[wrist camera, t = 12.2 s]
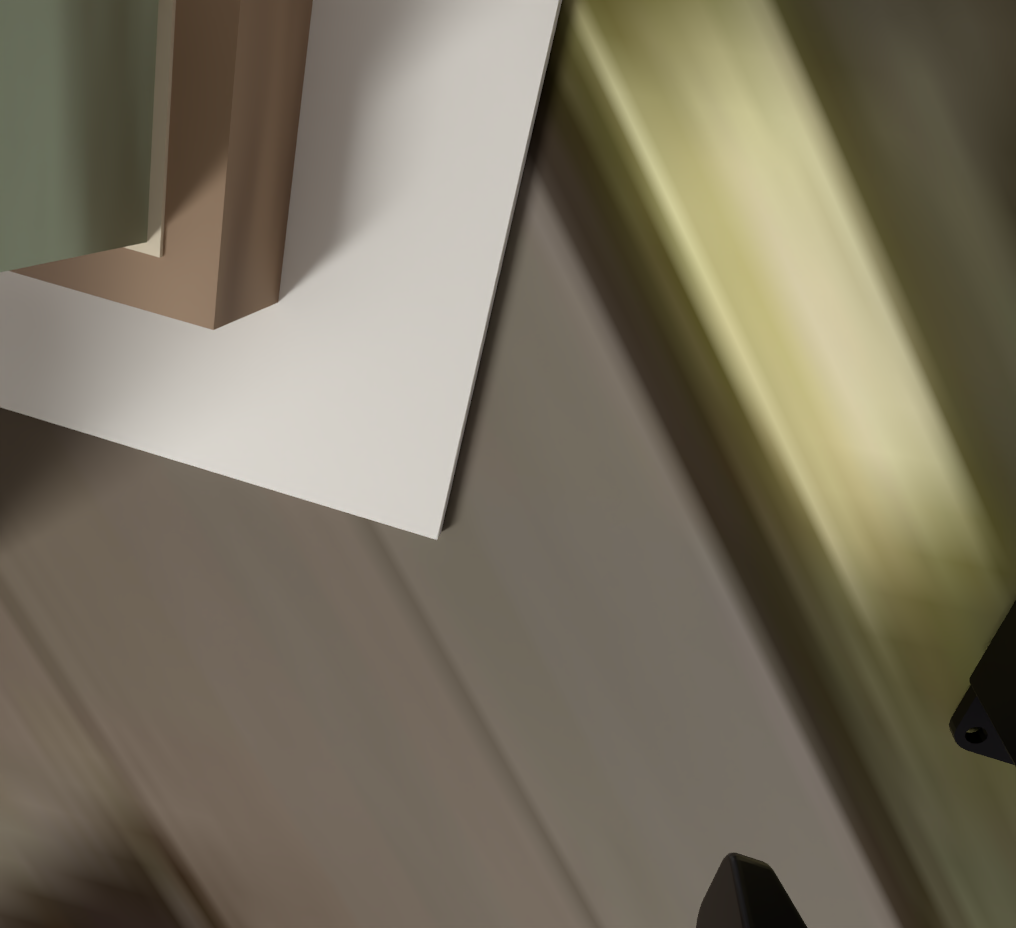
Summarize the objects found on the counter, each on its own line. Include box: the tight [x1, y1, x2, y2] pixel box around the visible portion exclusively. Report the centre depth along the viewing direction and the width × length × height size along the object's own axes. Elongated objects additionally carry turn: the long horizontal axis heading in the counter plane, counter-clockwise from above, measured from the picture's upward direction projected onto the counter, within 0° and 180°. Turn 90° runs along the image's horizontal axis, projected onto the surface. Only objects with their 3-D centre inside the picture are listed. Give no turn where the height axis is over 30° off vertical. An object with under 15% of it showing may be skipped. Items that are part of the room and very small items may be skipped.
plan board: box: [0, 0, 562, 540], centre depth 17 cm, size 14×14×4 cm
